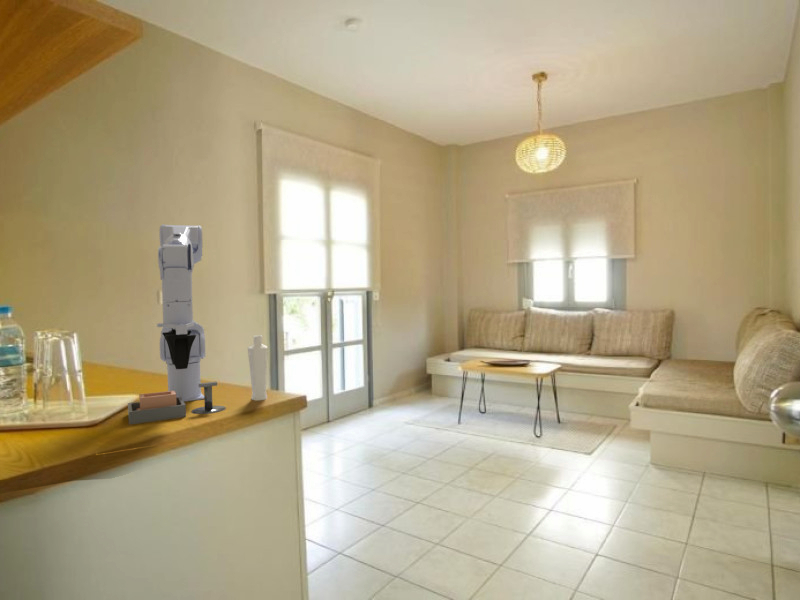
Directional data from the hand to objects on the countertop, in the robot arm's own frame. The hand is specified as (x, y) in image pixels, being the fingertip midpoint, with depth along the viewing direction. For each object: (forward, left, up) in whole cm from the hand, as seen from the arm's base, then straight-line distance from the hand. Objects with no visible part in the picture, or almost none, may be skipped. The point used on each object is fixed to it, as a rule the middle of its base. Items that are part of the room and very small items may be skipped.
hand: (179, 366), depth 103 cm
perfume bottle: (-4, +17, -10) cm, 21 cm away
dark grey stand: (0, +5, -10) cm, 11 cm away
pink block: (-1, -4, -10) cm, 10 cm away
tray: (-1, -5, -10) cm, 11 cm away
